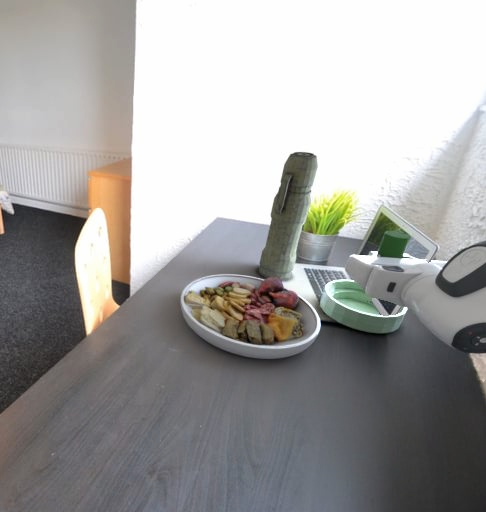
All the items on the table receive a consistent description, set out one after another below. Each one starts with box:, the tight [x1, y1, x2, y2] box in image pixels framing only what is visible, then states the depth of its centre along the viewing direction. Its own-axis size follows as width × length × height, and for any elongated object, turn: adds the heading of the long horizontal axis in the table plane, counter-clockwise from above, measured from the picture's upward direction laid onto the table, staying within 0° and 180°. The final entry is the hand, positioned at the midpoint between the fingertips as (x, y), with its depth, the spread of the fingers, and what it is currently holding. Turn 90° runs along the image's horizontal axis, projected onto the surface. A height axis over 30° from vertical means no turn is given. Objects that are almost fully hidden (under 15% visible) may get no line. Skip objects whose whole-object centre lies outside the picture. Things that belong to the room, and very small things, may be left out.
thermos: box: [258, 151, 319, 282], centre depth 101 cm, size 9×12×35 cm
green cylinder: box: [377, 230, 412, 258], centre depth 81 cm, size 4×4×12 cm
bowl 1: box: [180, 273, 321, 360], centre depth 87 cm, size 30×30×8 cm
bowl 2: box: [319, 279, 408, 334], centre depth 89 cm, size 16×16×5 cm
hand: (386, 255), depth 82 cm, fingers closed on green cylinder, 4 cm apart
